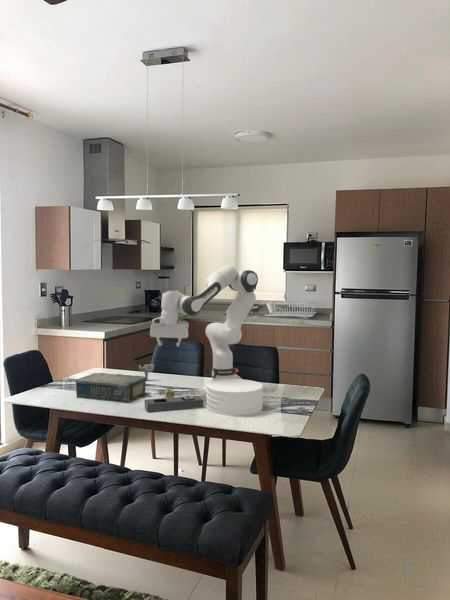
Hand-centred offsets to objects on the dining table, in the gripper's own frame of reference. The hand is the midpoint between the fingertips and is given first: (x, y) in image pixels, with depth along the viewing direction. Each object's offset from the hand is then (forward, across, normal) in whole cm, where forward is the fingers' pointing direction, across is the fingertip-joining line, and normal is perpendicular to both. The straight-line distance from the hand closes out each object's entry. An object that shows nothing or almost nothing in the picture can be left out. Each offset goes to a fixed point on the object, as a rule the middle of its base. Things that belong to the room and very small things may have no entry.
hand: (168, 346), depth 258 cm
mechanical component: (+28, +21, -39) cm, 53 cm away
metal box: (+29, +32, -3) cm, 43 cm away
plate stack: (+28, -36, +12) cm, 48 cm away
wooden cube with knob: (+28, -1, +2) cm, 28 cm away
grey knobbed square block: (+28, -13, +14) cm, 34 cm away
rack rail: (+28, -6, +16) cm, 33 cm away
